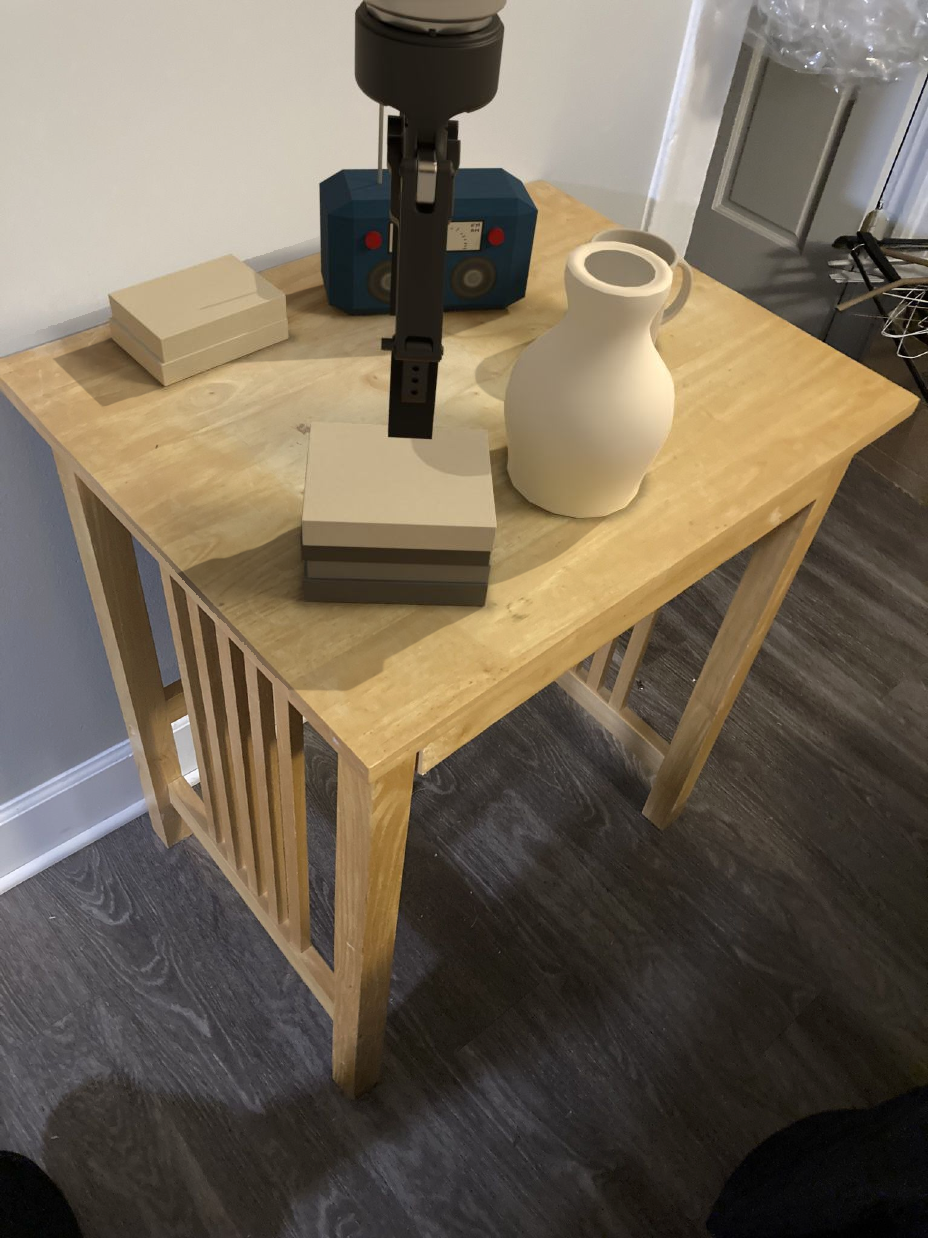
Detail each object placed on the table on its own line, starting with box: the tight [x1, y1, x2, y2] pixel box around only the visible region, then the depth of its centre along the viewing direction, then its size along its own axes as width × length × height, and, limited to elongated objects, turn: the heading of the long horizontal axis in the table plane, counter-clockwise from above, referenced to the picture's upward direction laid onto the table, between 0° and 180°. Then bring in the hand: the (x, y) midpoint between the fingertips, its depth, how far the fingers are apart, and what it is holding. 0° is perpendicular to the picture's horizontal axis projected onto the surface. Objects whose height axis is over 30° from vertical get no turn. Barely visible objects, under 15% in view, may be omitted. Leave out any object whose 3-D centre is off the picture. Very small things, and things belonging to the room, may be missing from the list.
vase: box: [503, 241, 676, 519], centre depth 80 cm, size 14×14×20 cm
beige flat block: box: [301, 421, 498, 552], centre depth 72 cm, size 14×11×2 cm
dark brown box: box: [299, 455, 492, 607], centre depth 75 cm, size 14×9×7 cm, turn 93°
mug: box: [588, 227, 694, 347], centre depth 99 cm, size 11×10×10 cm
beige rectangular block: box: [107, 253, 289, 387], centre depth 94 cm, size 14×10×5 cm
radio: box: [318, 103, 539, 317], centre depth 97 cm, size 21×9×20 cm, turn 103°
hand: (409, 370), depth 64 cm, fingers open, 13 cm apart
